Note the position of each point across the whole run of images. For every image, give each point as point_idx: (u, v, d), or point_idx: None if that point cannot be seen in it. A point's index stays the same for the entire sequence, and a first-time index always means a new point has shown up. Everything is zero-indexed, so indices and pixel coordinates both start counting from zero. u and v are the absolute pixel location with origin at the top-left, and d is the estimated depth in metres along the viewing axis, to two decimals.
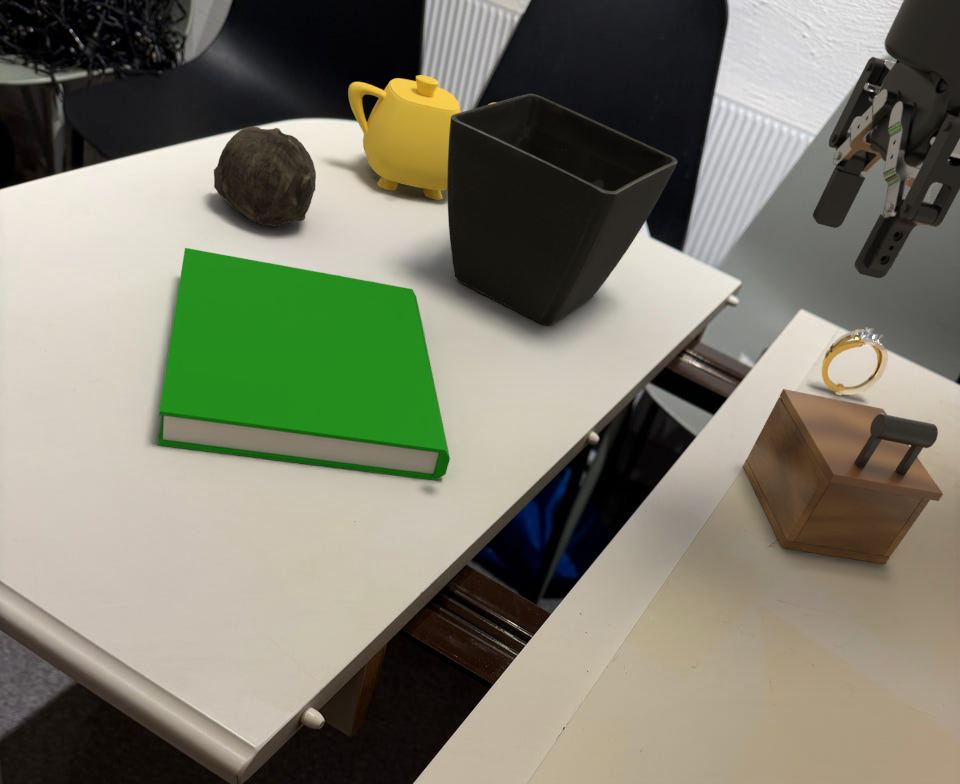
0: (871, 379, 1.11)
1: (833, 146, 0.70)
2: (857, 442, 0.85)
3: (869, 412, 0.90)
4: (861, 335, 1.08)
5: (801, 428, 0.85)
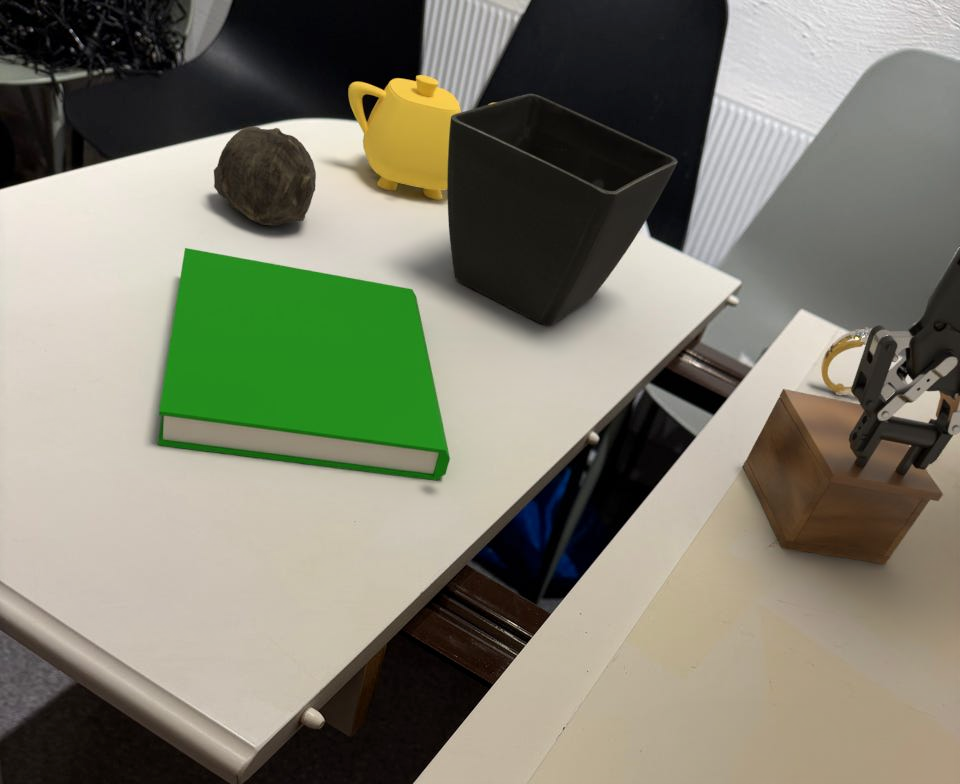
0: None
1: (872, 407, 0.76)
2: None
3: None
4: (861, 335, 1.08)
5: (801, 428, 0.85)
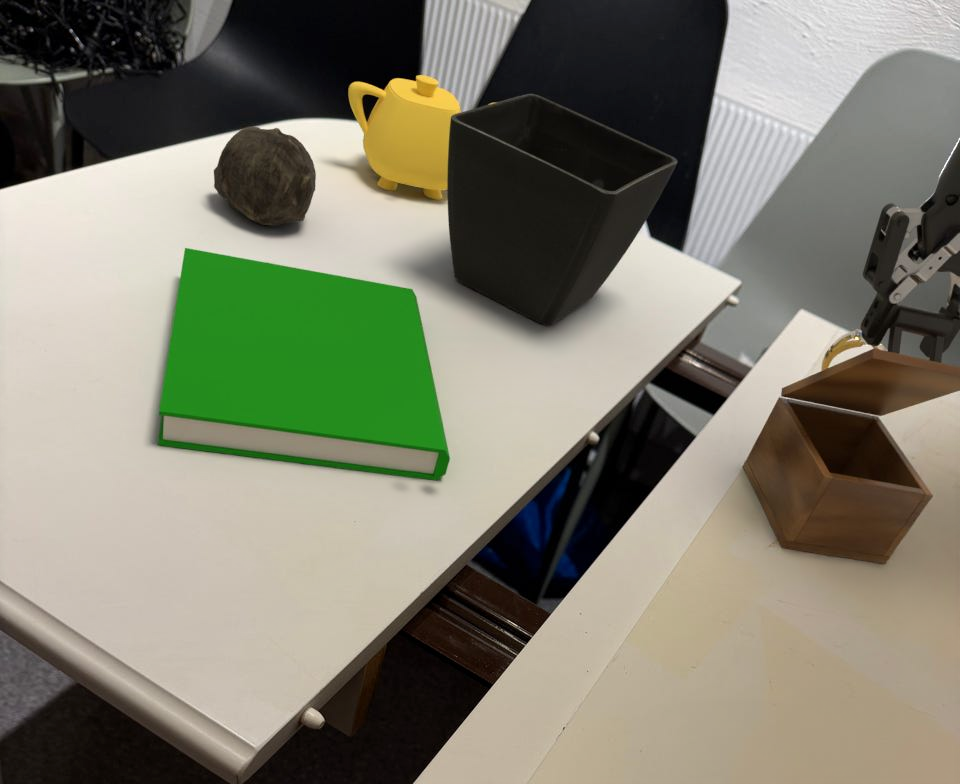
0: None
1: (884, 289, 0.77)
2: None
3: None
4: (861, 335, 1.08)
5: (818, 377, 0.83)
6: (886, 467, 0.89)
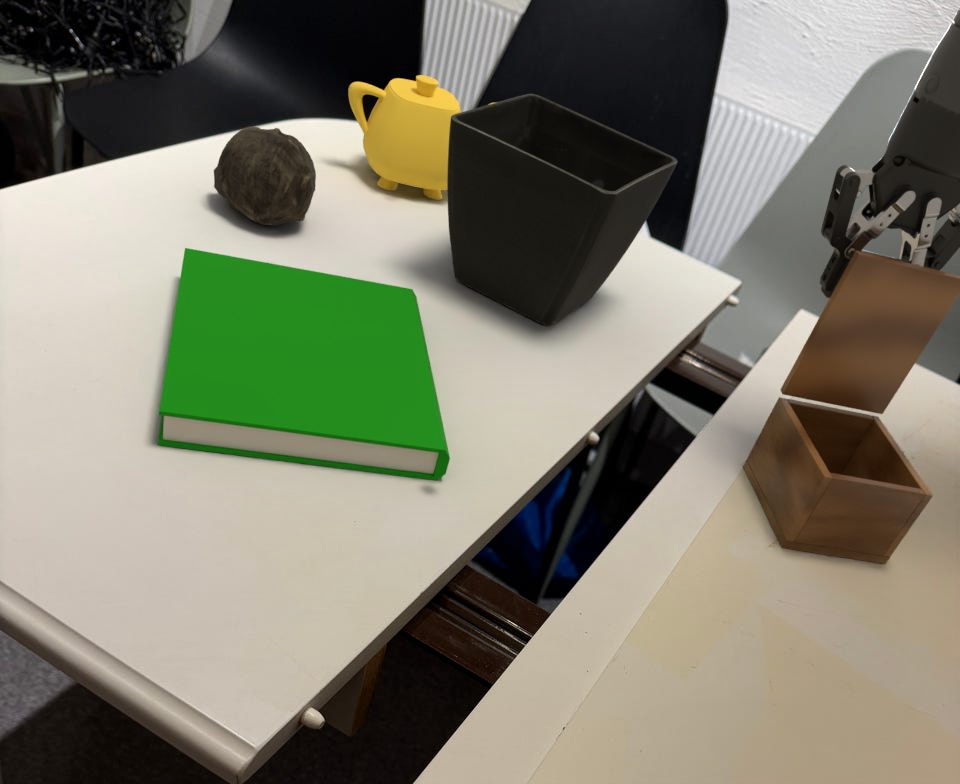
0: None
1: (840, 244, 0.84)
2: None
3: None
4: None
5: (812, 334, 0.85)
6: (886, 467, 0.89)
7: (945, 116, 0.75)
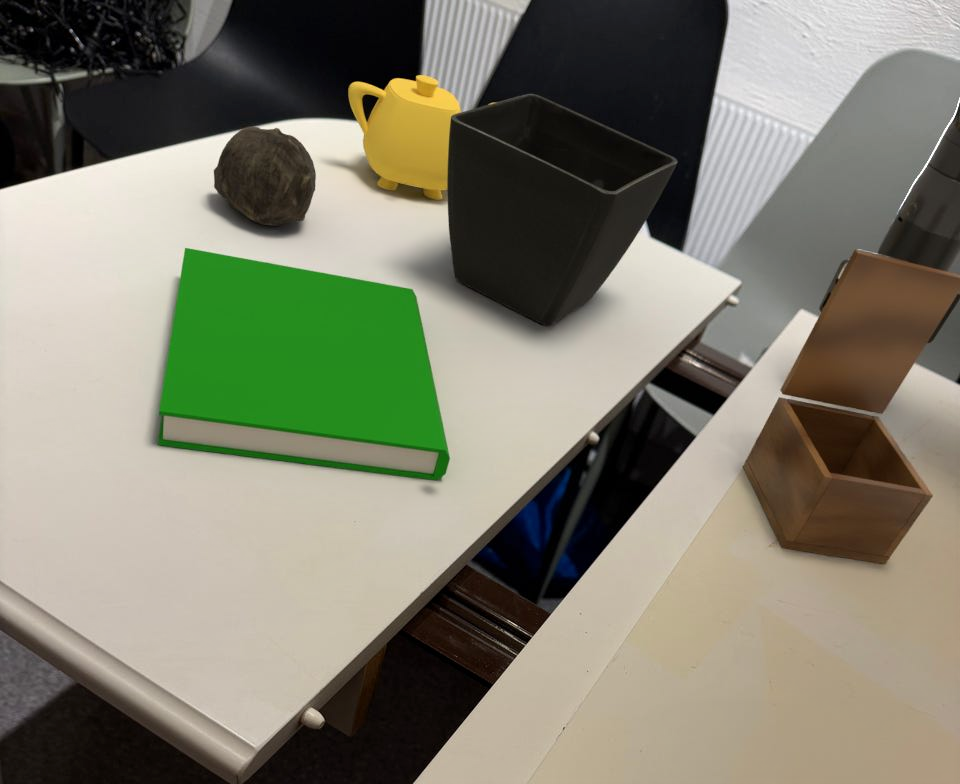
0: None
1: None
2: None
3: None
4: None
5: (812, 334, 0.85)
6: (886, 467, 0.89)
7: (922, 234, 0.97)
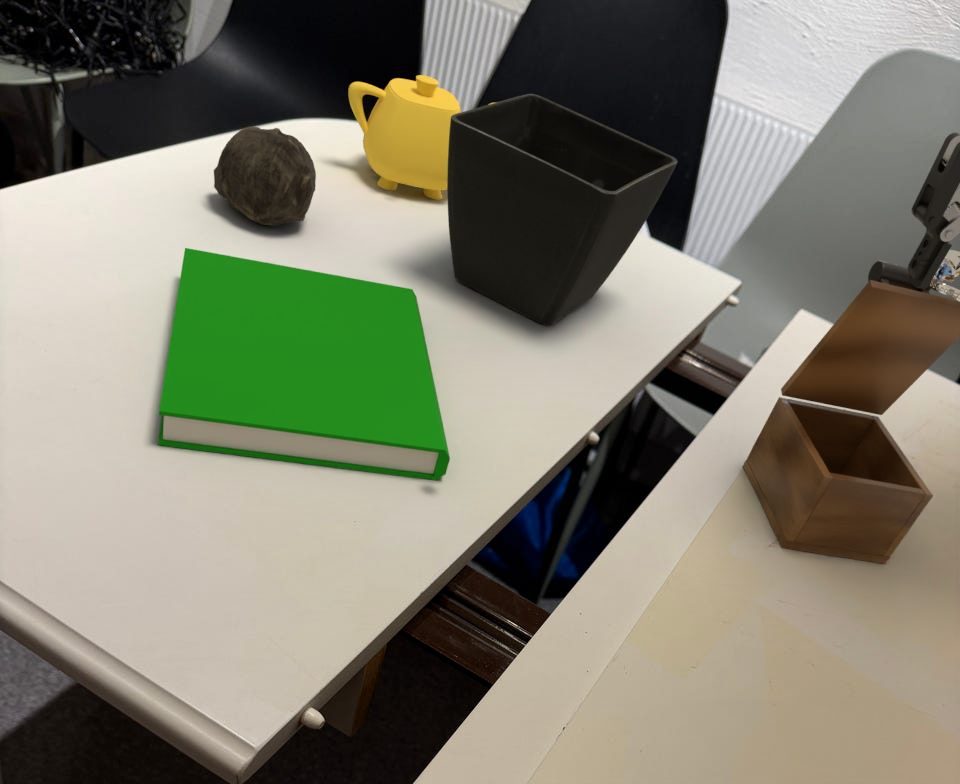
0: None
1: (934, 226, 0.72)
2: None
3: None
4: None
5: (817, 348, 0.84)
6: (886, 467, 0.89)
7: None
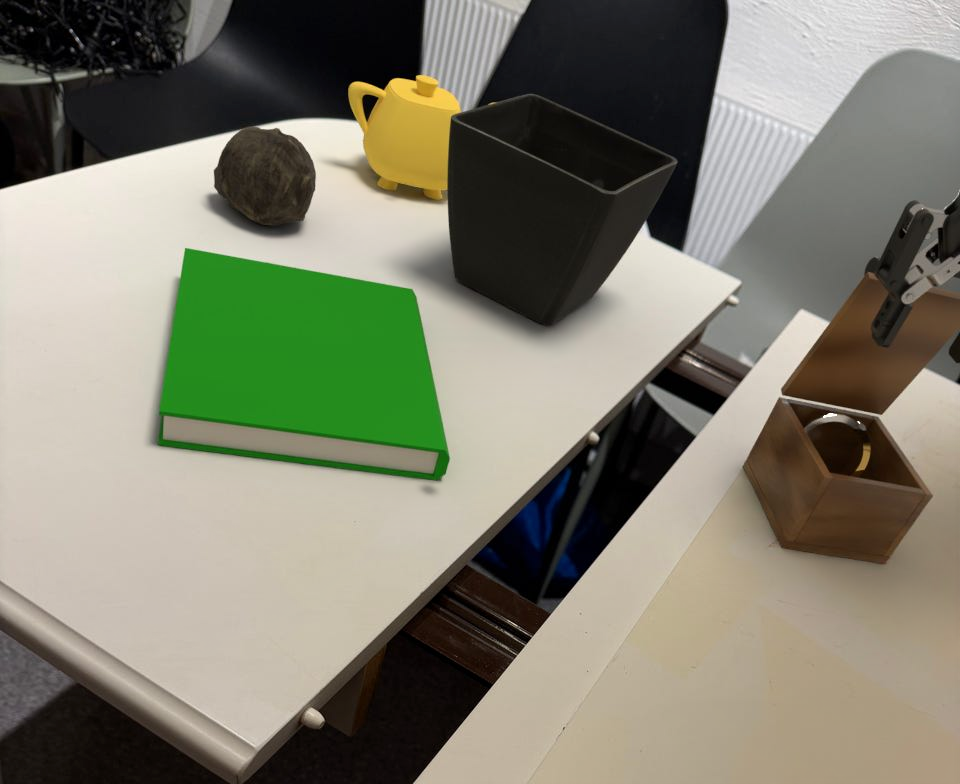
0: (858, 467, 0.90)
1: (895, 289, 0.74)
2: None
3: None
4: None
5: (817, 344, 0.84)
6: (886, 467, 0.89)
7: None
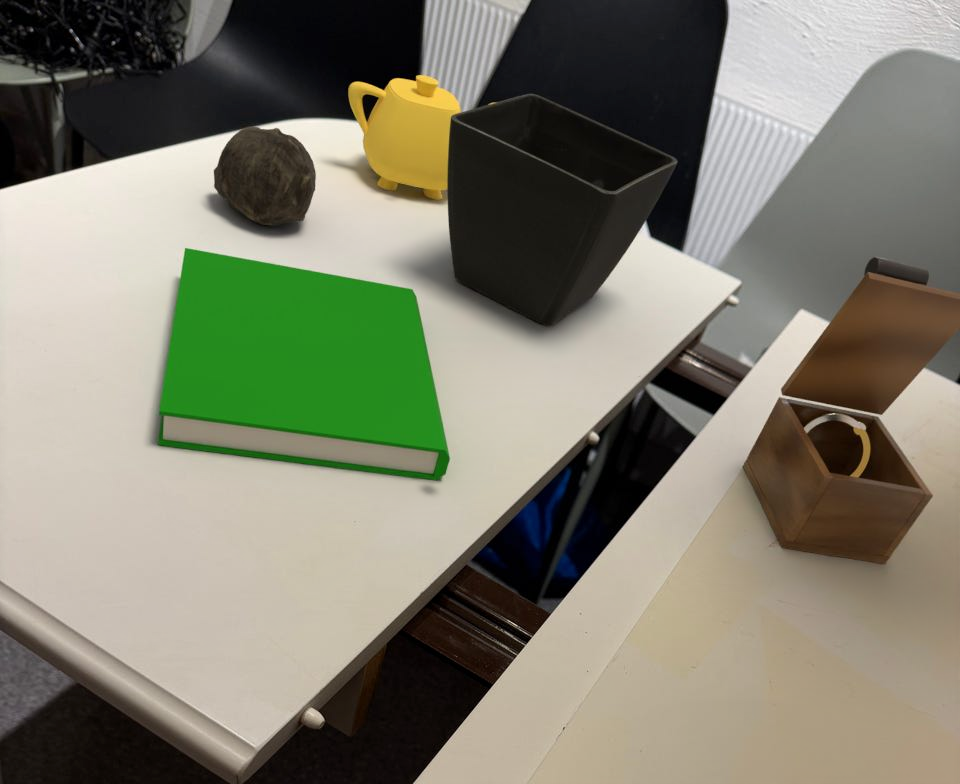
0: (858, 466, 0.91)
1: None
2: None
3: None
4: None
5: (817, 344, 0.84)
6: (886, 467, 0.89)
7: None
